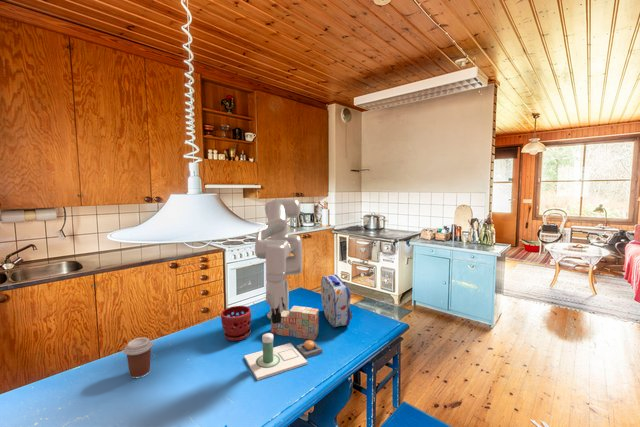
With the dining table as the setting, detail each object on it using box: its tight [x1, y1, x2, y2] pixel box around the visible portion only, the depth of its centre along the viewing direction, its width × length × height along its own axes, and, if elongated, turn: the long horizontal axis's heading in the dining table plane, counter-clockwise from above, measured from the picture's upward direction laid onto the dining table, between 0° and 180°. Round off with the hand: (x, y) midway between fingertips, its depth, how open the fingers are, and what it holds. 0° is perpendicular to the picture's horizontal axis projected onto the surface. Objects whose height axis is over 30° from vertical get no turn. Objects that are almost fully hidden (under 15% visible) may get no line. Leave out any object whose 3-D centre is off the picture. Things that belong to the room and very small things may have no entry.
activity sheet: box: [243, 342, 308, 381], centre depth 122 cm, size 16×20×1 cm
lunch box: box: [320, 274, 353, 328], centre depth 158 cm, size 28×10×22 cm, turn 15°
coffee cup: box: [123, 336, 154, 378], centre depth 113 cm, size 9×9×12 cm
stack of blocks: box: [270, 305, 320, 341], centre depth 143 cm, size 21×6×12 cm, turn 74°
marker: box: [261, 332, 274, 363], centre depth 120 cm, size 4×4×10 cm
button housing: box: [295, 340, 323, 359], centre depth 129 cm, size 8×8×2 cm
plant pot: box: [220, 305, 252, 342], centre depth 141 cm, size 13×13×12 cm
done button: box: [303, 339, 315, 351], centre depth 129 cm, size 4×4×2 cm
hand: (276, 322), depth 120 cm, fingers closed
